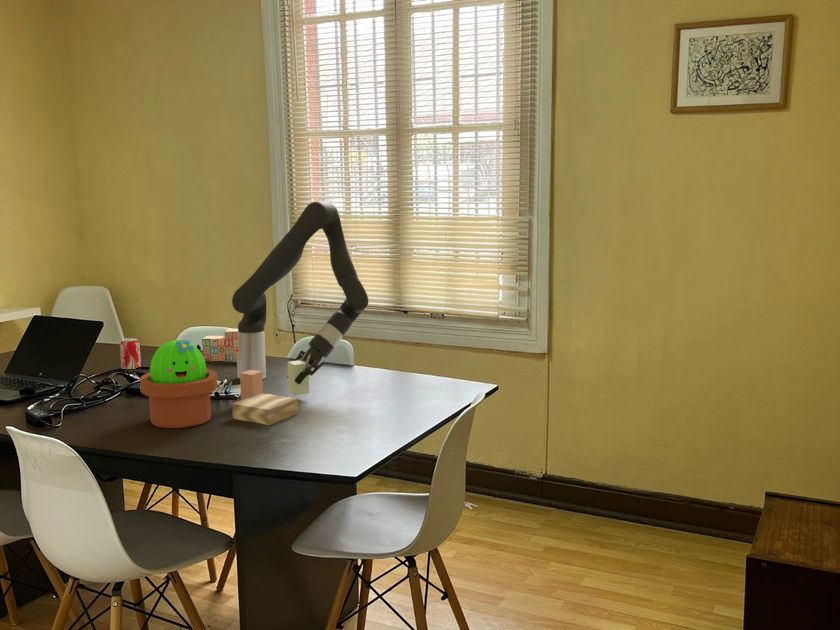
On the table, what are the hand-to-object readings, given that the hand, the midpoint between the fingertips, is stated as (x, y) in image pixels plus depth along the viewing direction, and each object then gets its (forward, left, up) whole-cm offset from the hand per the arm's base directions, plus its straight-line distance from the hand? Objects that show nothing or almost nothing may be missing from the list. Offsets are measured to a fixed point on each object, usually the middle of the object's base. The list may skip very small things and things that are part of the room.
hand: (293, 380), depth 271 cm
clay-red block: (-11, -7, -7) cm, 15 cm away
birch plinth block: (+2, -17, -7) cm, 19 cm away
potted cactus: (-18, -32, -7) cm, 38 cm away
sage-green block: (+1, +2, -4) cm, 5 cm away
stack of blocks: (-57, +38, -7) cm, 69 cm away
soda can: (-79, +8, -7) cm, 80 cm away
